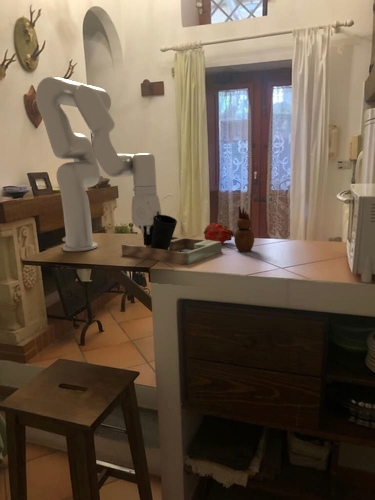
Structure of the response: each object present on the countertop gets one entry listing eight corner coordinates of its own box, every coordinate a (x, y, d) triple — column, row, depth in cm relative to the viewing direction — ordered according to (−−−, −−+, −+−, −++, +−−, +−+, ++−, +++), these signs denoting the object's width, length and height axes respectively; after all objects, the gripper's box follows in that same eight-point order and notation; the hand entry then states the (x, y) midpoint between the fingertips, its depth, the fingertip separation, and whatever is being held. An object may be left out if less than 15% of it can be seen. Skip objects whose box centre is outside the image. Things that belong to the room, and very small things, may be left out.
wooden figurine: (231, 250, 135) (231, 206, 132) (245, 247, 138) (245, 205, 134) (243, 253, 129) (242, 208, 126) (257, 251, 132) (257, 206, 128)
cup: (167, 259, 129) (174, 225, 124) (145, 252, 130) (152, 219, 125) (171, 250, 136) (179, 218, 131) (150, 244, 137) (157, 212, 132)
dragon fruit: (202, 246, 150) (232, 252, 146) (197, 237, 142) (229, 243, 138) (208, 226, 153) (238, 232, 149) (204, 216, 145) (235, 222, 141)
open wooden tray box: (122, 254, 135) (121, 244, 134) (159, 243, 150) (158, 234, 149) (187, 264, 118) (186, 253, 117) (221, 251, 133) (221, 241, 132)
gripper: (121, 192, 133) (125, 244, 137) (154, 192, 124) (158, 249, 128) (137, 190, 138) (140, 240, 143) (169, 190, 130) (172, 244, 134)
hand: (148, 244), depth 135 cm, fingers closed
